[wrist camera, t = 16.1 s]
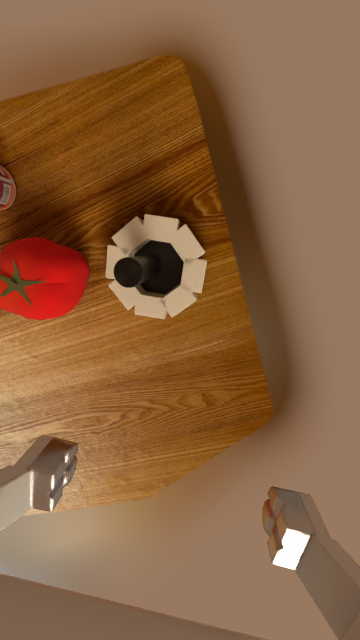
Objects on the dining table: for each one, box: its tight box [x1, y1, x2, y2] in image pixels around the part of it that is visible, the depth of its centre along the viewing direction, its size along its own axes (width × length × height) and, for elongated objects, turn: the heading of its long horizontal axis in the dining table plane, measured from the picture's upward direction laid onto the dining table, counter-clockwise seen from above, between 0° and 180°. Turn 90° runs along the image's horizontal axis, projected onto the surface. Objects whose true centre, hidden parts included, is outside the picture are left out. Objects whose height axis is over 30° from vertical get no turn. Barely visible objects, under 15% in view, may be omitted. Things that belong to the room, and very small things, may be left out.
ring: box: [106, 214, 207, 319], centre depth 34 cm, size 13×13×3 cm
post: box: [114, 224, 184, 294], centre depth 31 cm, size 10×10×13 cm
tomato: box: [0, 237, 90, 320], centre depth 34 cm, size 11×13×10 cm
